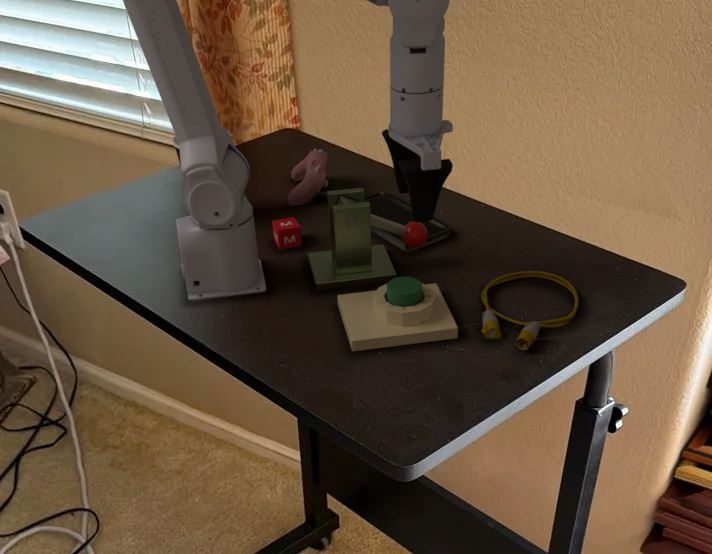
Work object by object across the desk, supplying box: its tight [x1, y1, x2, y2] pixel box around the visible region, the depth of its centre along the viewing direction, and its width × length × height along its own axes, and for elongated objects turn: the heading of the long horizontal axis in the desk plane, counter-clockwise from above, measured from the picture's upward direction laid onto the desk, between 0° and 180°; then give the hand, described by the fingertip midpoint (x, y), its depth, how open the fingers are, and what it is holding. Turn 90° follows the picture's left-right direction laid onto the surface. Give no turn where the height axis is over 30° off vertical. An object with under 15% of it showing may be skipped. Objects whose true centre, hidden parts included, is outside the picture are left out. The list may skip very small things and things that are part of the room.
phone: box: [364, 191, 451, 252], centre depth 120 cm, size 8×1×15 cm
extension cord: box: [480, 270, 579, 351], centre depth 102 cm, size 12×16×2 cm
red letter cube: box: [271, 217, 302, 251], centre depth 116 cm, size 3×3×3 cm
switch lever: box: [337, 196, 427, 248], centre depth 108 cm, size 12×3×3 cm, turn 100°
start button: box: [386, 276, 423, 307], centre depth 99 cm, size 4×4×2 cm
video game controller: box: [286, 147, 330, 207], centre depth 127 cm, size 10×5×7 cm, turn 179°
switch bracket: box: [307, 187, 398, 291], centre depth 108 cm, size 10×8×10 cm
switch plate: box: [337, 282, 459, 352], centre depth 101 cm, size 12×10×4 cm
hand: (415, 205), depth 103 cm, fingers open, 7 cm apart
